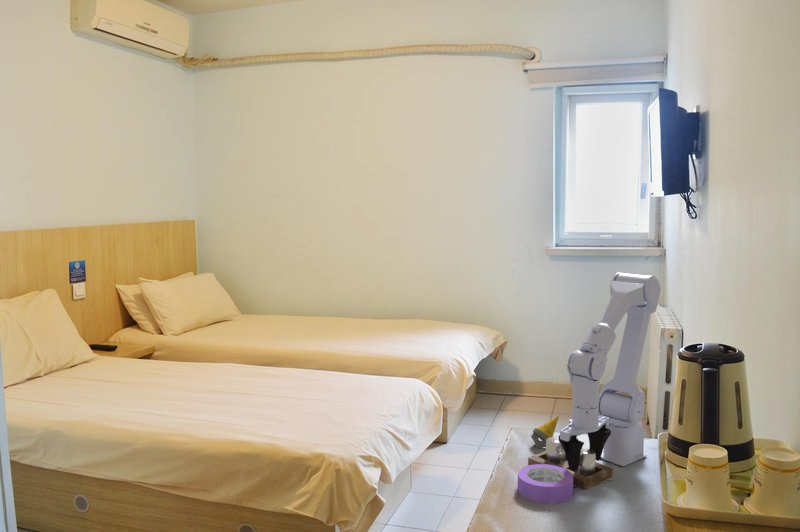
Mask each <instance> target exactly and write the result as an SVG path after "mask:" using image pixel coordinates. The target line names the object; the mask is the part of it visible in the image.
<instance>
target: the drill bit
mask: <svg viewBox="0 0 800 532" xmlns="http://www.w3.org/2000/svg"><path fill="white" fill-rule="evenodd" d="M559 418H560V416H559V415H557V416H556V417H554V418H552V419H551V420H549V421H547V422H546V423H543V425H541V426H539V427H537V428H536V427H535V428H534V429H533V430H532V434H531V436H530V437H531V439H532V441H533V443H534V444H535V446H537V447H536V448H540V447H546V439H548V438H551V437H554V433H555V430H556V427H557V424H558V420H559Z"/></svg>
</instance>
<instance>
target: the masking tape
mask: <svg viewBox="0 0 800 532" xmlns="http://www.w3.org/2000/svg"><path fill="white" fill-rule="evenodd" d="M517 491H518V494H519V495H520V496H521V497H523V498H525V499H526V500H529V501H531V502H536V503H540V504H558V503H563V502H565V501H568V500H569V499H571V498H572V497H573V496H574V485H573V475H572V474H571V472H569V471H568V470H566V469H564V468H561V467H558V466H554V465H547V464H535V465H529V466H528V465H527V466H523V467H522V468H520V469H519V470H518V472H517Z"/></svg>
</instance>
